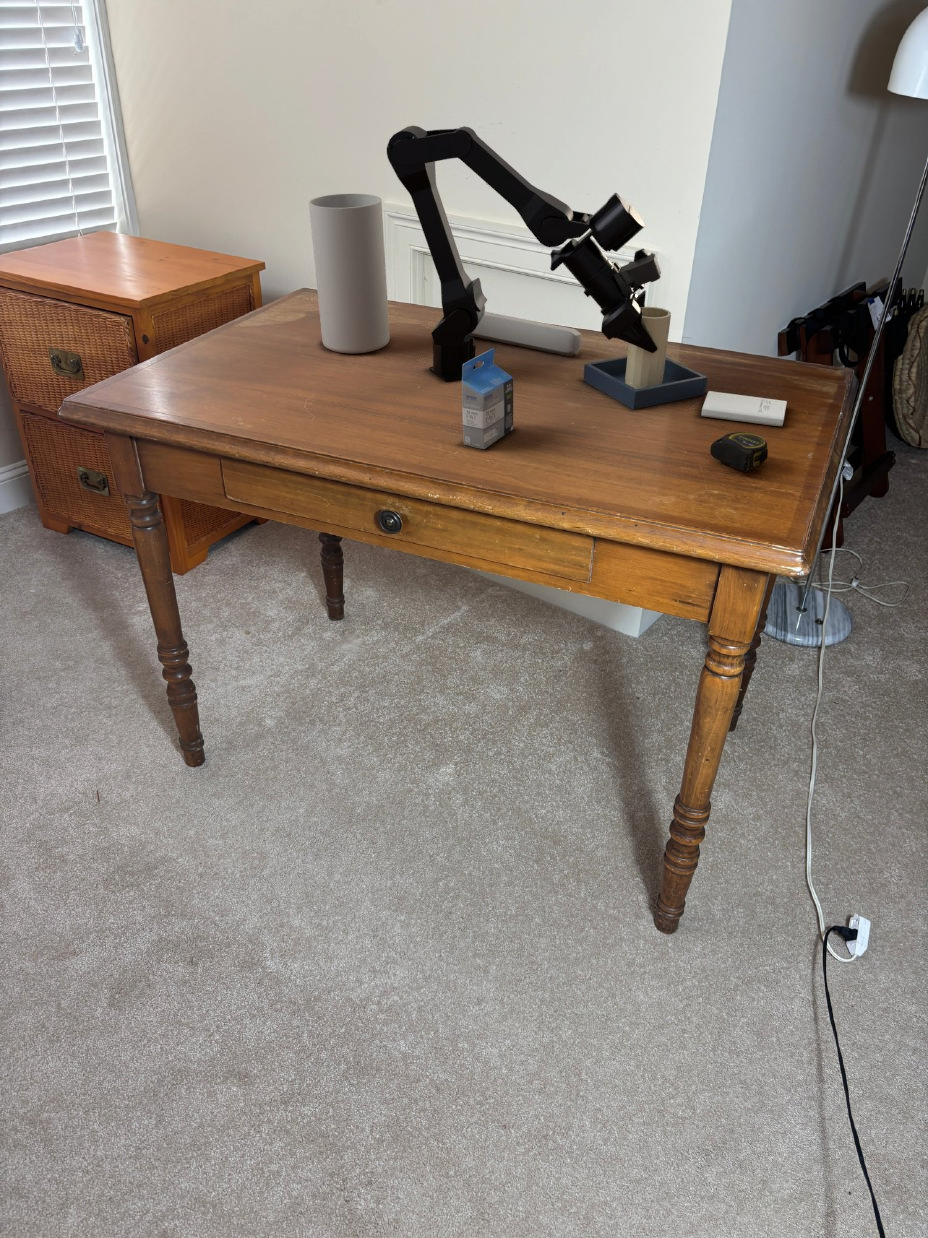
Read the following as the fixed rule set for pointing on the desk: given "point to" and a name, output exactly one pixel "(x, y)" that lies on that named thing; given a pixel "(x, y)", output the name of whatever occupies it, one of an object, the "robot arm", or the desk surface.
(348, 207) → the cylinder vase
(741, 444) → the tape measure
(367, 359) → the desk surface
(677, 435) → the desk surface
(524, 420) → the desk surface
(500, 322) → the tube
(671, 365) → the tray
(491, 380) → the label tape box
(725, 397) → the hard drive
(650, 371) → the pencil cup
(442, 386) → the desk surface
